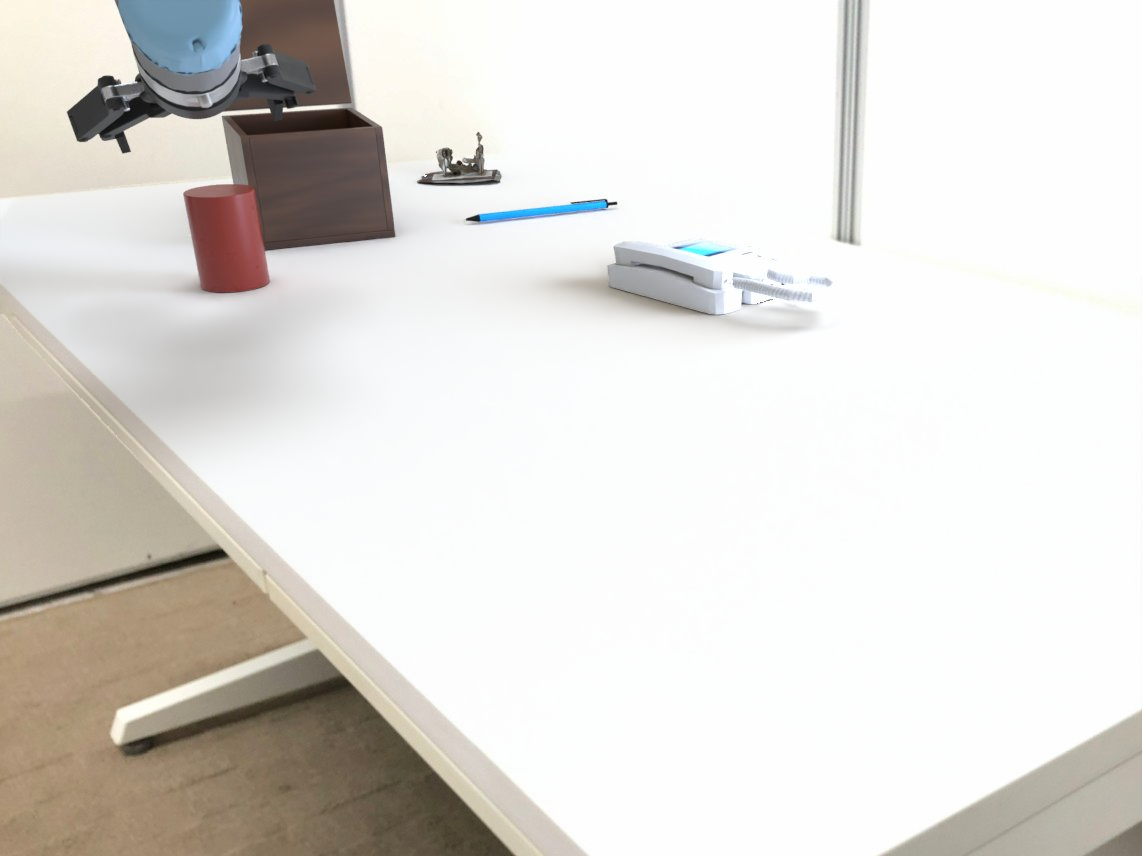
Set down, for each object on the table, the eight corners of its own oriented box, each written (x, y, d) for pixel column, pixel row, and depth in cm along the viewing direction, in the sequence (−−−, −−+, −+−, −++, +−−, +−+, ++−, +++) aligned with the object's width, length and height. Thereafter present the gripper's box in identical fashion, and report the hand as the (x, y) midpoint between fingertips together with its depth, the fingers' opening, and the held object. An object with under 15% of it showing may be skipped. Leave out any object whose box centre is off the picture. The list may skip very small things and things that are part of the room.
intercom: (797, 288, 110) (601, 240, 125) (796, 338, 111) (603, 285, 127) (893, 259, 118) (699, 218, 133) (891, 306, 120) (700, 260, 135)
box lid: (324, -56, 149) (323, -55, 150) (188, -54, 144) (188, -52, 144) (351, 102, 153) (350, 103, 154) (221, 111, 148) (220, 112, 148)
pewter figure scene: (394, 168, 176) (457, 128, 180) (419, 211, 180) (481, 170, 184) (431, 170, 167) (496, 127, 171) (456, 215, 171) (520, 172, 174)
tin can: (188, 291, 126) (169, 196, 122) (221, 274, 131) (205, 183, 127) (250, 293, 125) (233, 198, 121) (281, 276, 130) (266, 184, 126)
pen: (618, 207, 159) (618, 198, 158) (466, 224, 151) (465, 214, 150) (615, 206, 159) (615, 196, 159) (463, 222, 151) (462, 213, 151)
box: (395, 236, 146) (382, 126, 140) (259, 250, 140) (240, 136, 135) (365, 208, 159) (351, 107, 154) (239, 220, 153) (221, 115, 148)
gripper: (34, 143, 97) (70, 193, 117) (364, 75, 105) (345, 133, 125) (-4, 41, 96) (39, 109, 115) (333, -21, 103) (319, 53, 123)
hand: (198, 121), depth 120 cm, fingers open, 13 cm apart
